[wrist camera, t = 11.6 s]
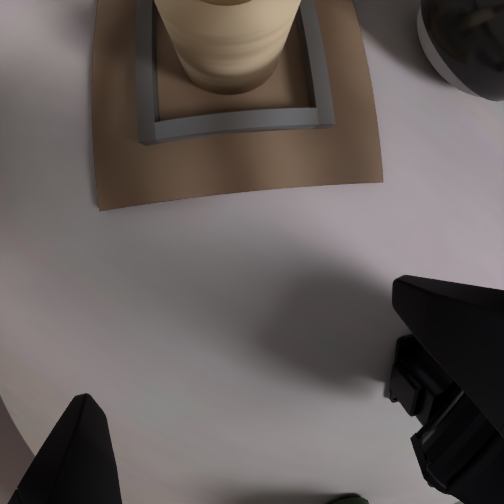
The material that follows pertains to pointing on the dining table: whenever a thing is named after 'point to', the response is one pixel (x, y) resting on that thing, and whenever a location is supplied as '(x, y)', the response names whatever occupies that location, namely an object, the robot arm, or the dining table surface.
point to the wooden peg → (228, 40)
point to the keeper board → (229, 112)
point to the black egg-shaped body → (465, 43)
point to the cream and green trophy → (352, 501)
